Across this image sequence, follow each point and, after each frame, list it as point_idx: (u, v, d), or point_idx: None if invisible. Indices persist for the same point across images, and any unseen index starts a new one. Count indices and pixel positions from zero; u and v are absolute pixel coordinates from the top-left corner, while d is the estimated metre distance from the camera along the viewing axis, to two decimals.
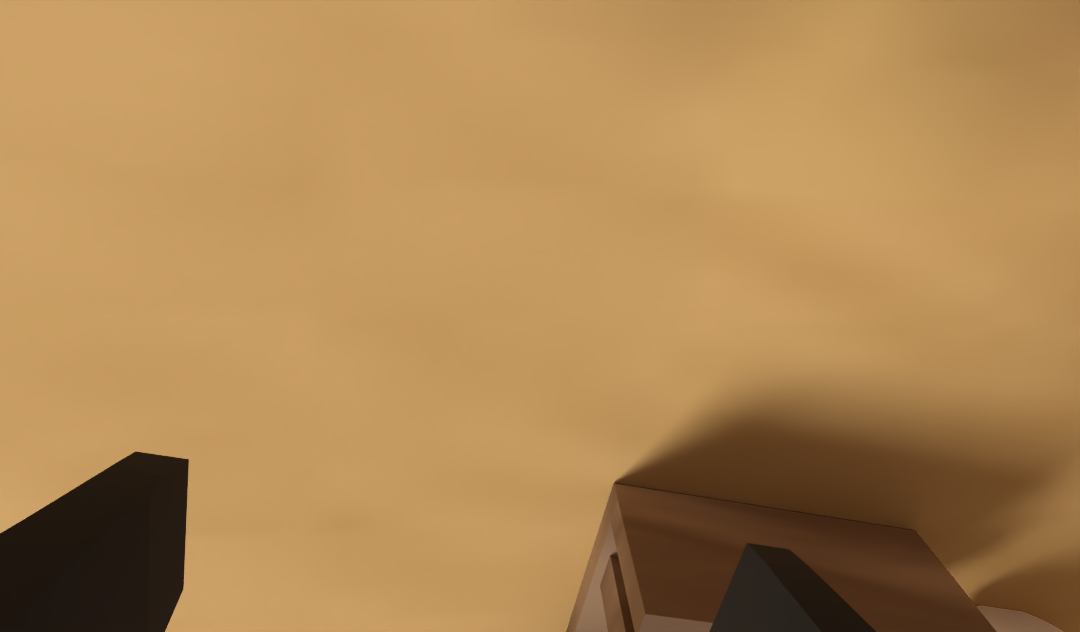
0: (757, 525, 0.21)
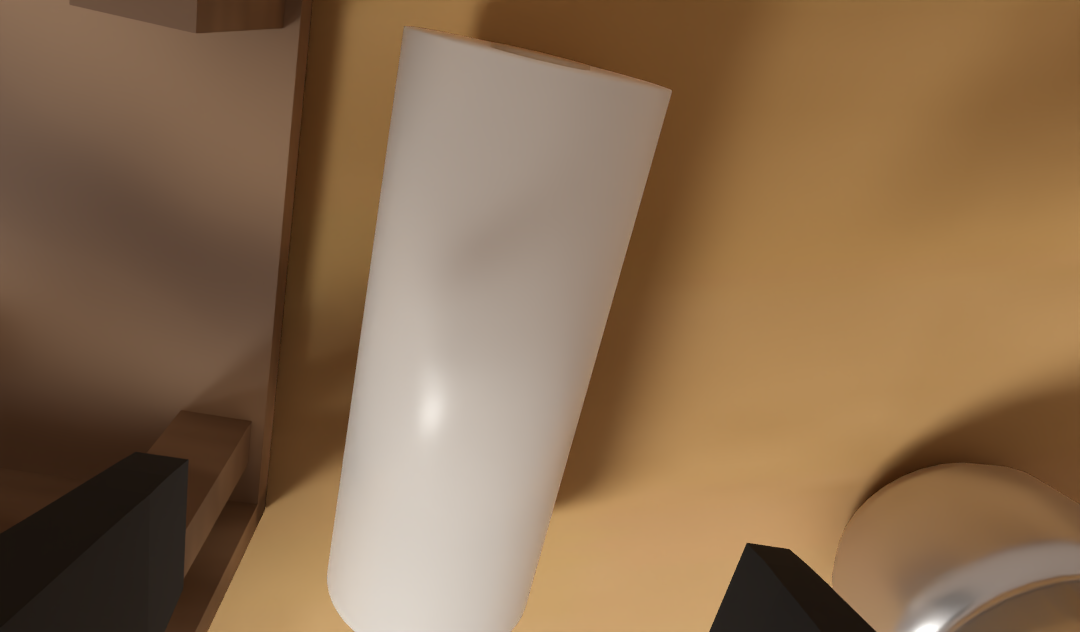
0: None
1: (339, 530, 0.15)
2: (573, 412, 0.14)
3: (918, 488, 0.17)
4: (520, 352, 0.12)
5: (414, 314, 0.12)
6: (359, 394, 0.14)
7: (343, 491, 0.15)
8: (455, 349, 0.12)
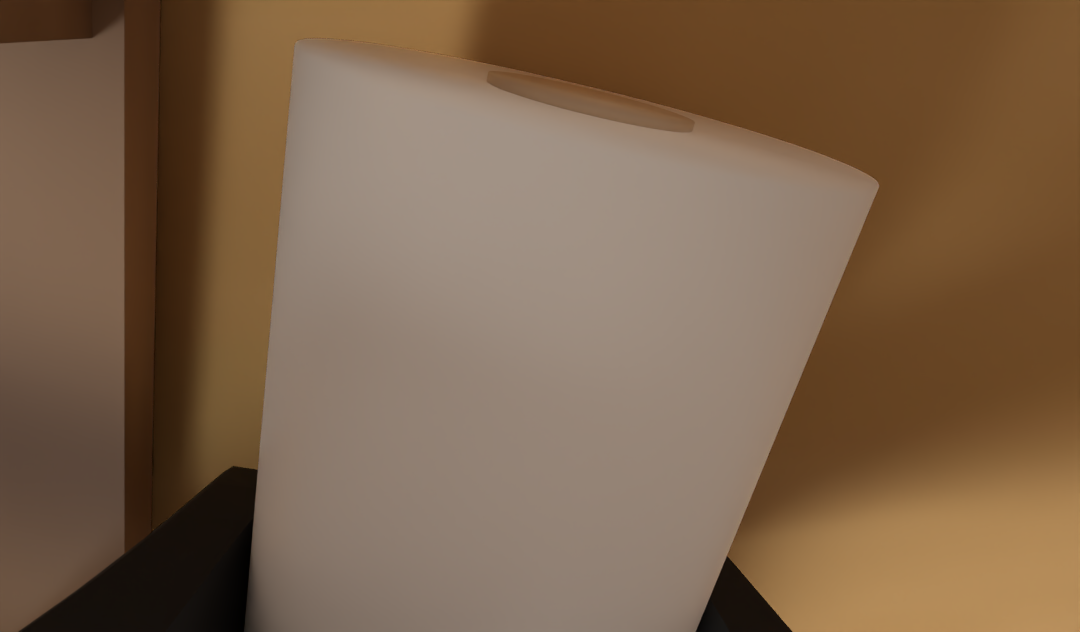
0: None
1: None
2: None
3: None
4: None
5: None
6: None
7: None
8: None
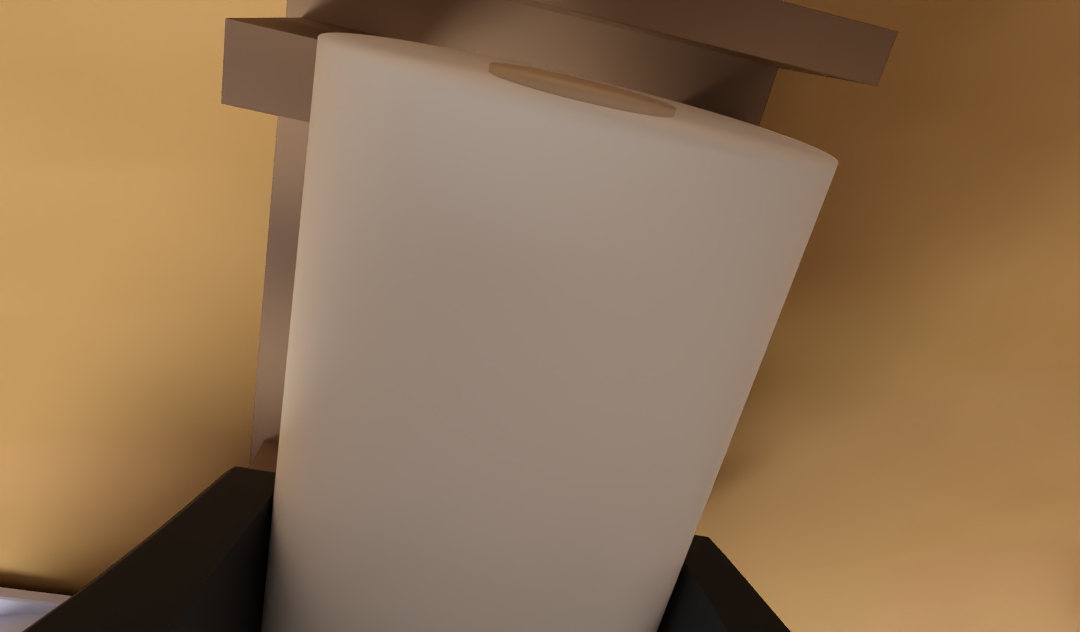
0: None
1: None
2: None
3: None
4: None
5: (311, 557, 0.07)
6: None
7: None
8: None
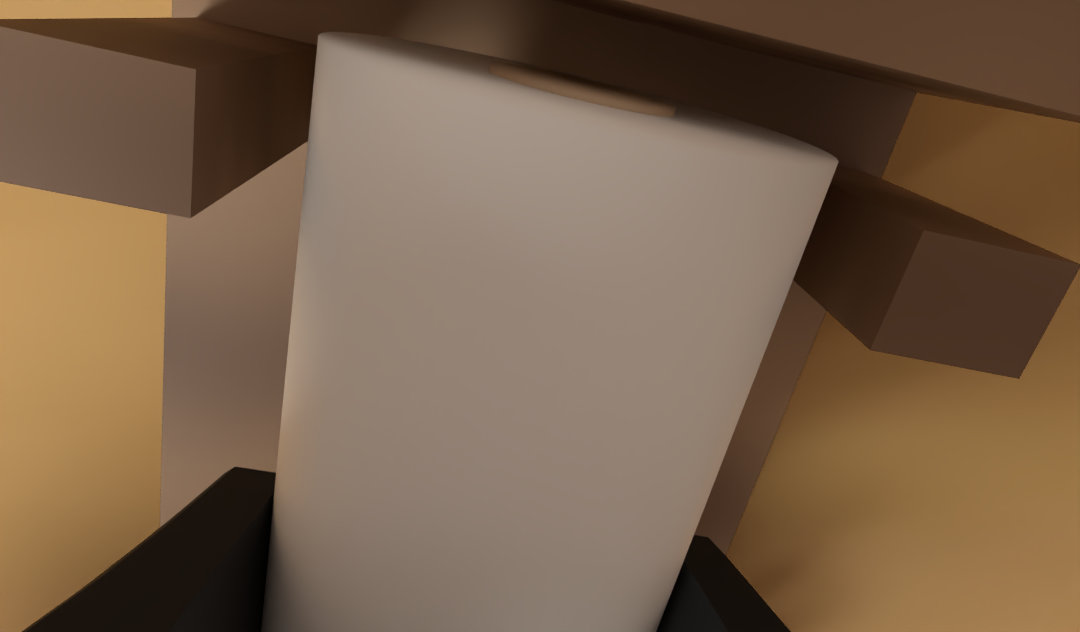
0: None
1: None
2: None
3: None
4: None
5: (311, 555, 0.07)
6: None
7: None
8: None
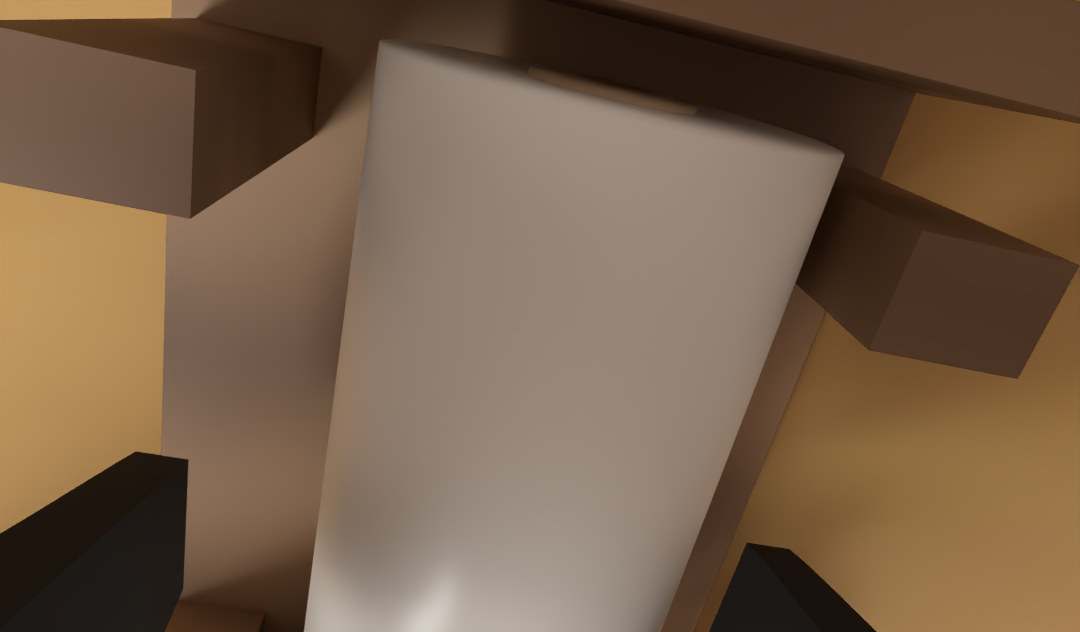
0: None
1: None
2: None
3: None
4: (580, 601, 0.07)
5: (398, 535, 0.07)
6: (314, 621, 0.09)
7: None
8: (470, 599, 0.07)
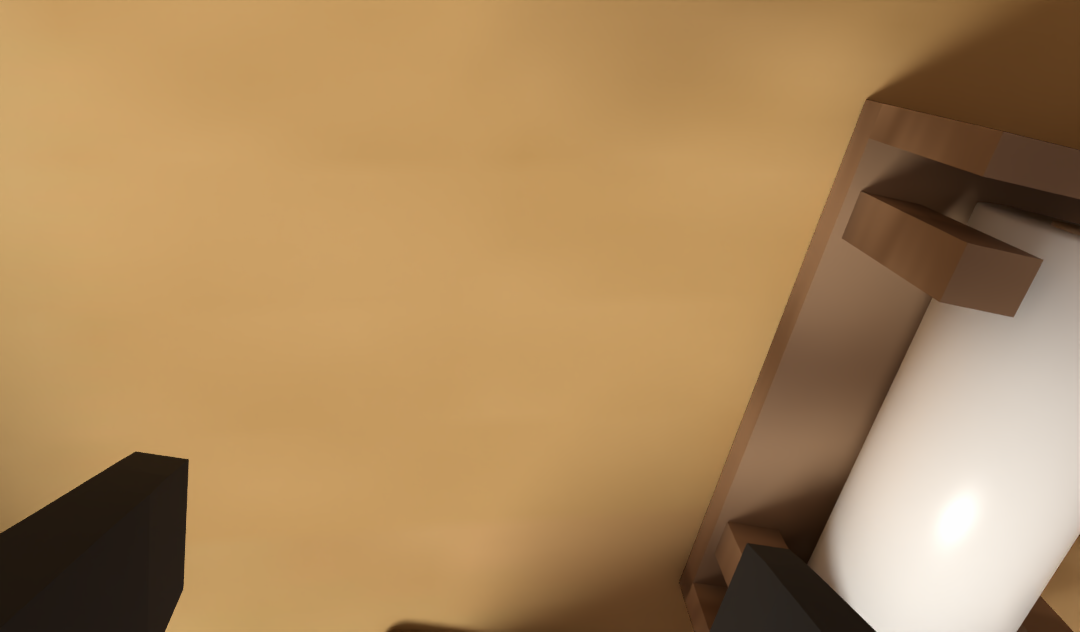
0: None
1: None
2: (1077, 536, 0.16)
3: None
4: (1057, 479, 0.15)
5: (961, 431, 0.15)
6: (874, 482, 0.17)
7: (835, 556, 0.18)
8: (997, 466, 0.15)
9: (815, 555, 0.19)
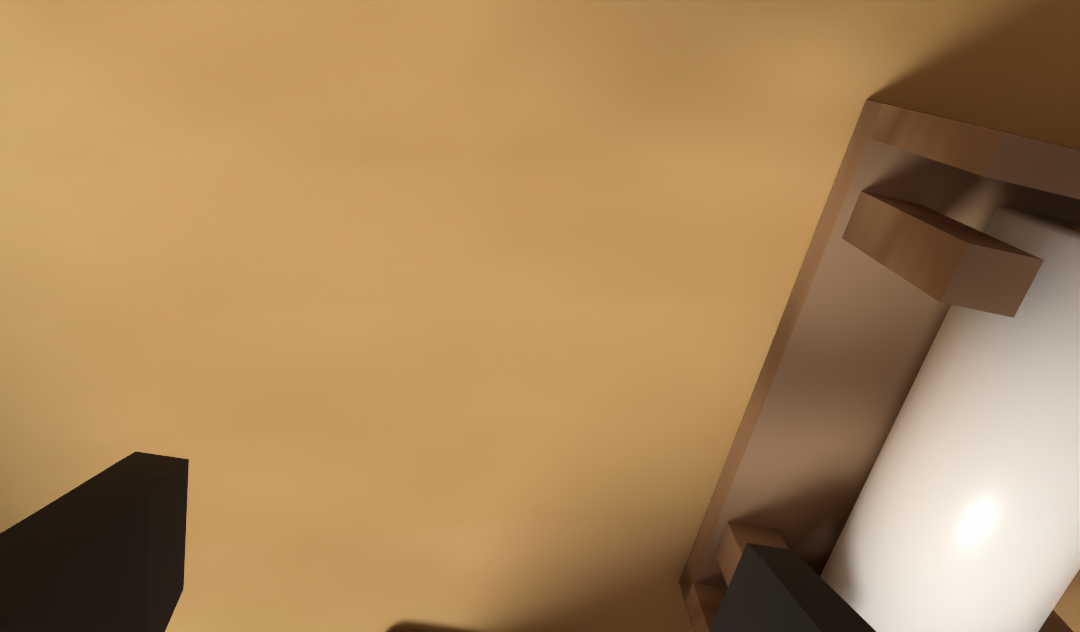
0: None
1: (854, 605, 0.18)
2: None
3: None
4: None
5: (1010, 448, 0.15)
6: (909, 499, 0.17)
7: (866, 574, 0.18)
8: (1048, 481, 0.15)
9: (837, 571, 0.19)
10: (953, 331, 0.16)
